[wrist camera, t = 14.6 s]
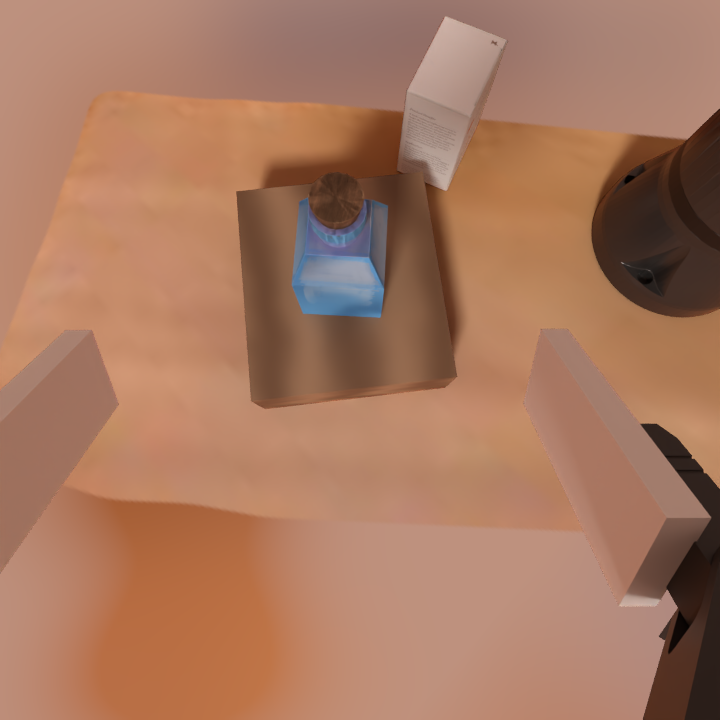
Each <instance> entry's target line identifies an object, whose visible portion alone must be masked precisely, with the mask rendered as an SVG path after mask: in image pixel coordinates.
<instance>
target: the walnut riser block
mask: <svg viewBox="0 0 720 720" xmlns="http://www.w3.org/2000/svg"><path fill="white" fill-rule="evenodd" d="M356 180H357V181H358V182H359V183H360V185H361V187H362V189H363V191H364V199H370V200H375V201H377V202H380V203H382V204H385V205H388V219H387V239H386V260H385V281H384V294H383V302H382V310H381V318H377V317H358V316H339V315H320V314H303V312H302V310H301V307H300V305H299V302H298V300H297V297H296V295H295V292H294V290H293V287H292V276H293V265H294V254H295V243H296V233H297V222H298V211H299V201H301V200H304V199H306V198H308V194H309V190H310V188H311V186H312V185H313V183H312V184H303V185H293V186H284V187H274V188H265V189H256V190H246V191H237V192H236V193H237V207H238V221H239V236H240V250H241V264H242V278H243V292H244V306H245V320H246V334H247V349H248V363H249V377H250V391H251V401H252V402H254V403H255V404H257V405H259V406H261V407H263V408H264V409H270V408H278V407H287V406H295V405H304V404H312V403H320V402H329V401H337V400H345V399H354V398H362V397H371V396H379V395H387V394H396V393H404V392H412V391H421V390H429V389H438V388H445V387H446V386H447V385H448V384H449V383H450V382H452V381H453V380H454V379H455V378H456V377H457V373H456V367H455V361H454V355H453V349H452V343H451V337H450V331H449V325H448V319H447V313H446V308H445V302H444V296H443V290H442V284H441V278H440V272H439V266H438V260H437V254H436V248H435V242H434V236H433V230H432V224H431V218H430V212H429V206H428V200H427V194H426V188H425V182H424V176H423V172H416V173H406V174H397V175H387V176H378V177H369V178H359V179H356Z"/></svg>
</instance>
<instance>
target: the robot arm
mask: <svg viewBox="0 0 720 720" xmlns="http://www.w3.org/2000/svg"><path fill="white" fill-rule="evenodd" d="M592 242H593V248H594V252H595V255H596V258H597V261H598V263H599V265H600V267H601V269H602V271H603V272H604V274H605V276H606V277H607V278H608V280H609V281H610V282H611V284H612V285H613V286H614V287H615V288H616V289H617V290H618V291H619V292H620V293H621V294H623V295H624V296H625V297H626V298H628V299H629V300H630V301H632V302H634V303H635V304H637V305H639V306H641V307H643V308H645V309H647V310H649V311H652V312H655V313H658V314H662V315H666V316H672V317H694V316H700V315H704V314H708V313H711V312H713V311H716V310H718V309H720V109H719V110H718V111H717V112H716V113H714V115H712V116H711V117H710V118H709V119H708V120H707V121H706V122H705V123H704V124H703V125H702V126H701V127H700V128H699V129H698V130H697V131H696V132H695V133H694V134H693V135H692V136H691V137H690V138H689V139H688V140H687V141H686V142H685V143H683V144H682V145H680V146H678V147H676V148H674V149H672V150H670V151H668V152H666V153H664V154H662V155H660V156H658V157H655V158H653V159H651V160H649V161H647V162H645V163H643V164H641V165H639V166H637V167H636V168H634V169H632V170H631V171H629V172H628V173H627V174H625V175H624V176H623V177H622V178H621V179H620V180H619V181H618V182H617V183H616V184H615V185H614V186H613V187H612V188H611V189H610V190H609V192H608V193H607V194H606V195H605V196H604V198H603V199H602V200H601V202H600V204H599V206H598V208H597V210H596V213H595V216H594V220H593V226H592ZM523 404H524V406H525V408H526V410H527V412H528V414H529V416H530V419H531V421H532V423H533V425H534V427H535V429H536V431H537V433H538V436H539V438H540V440H541V442H542V444H543V446H544V448H545V450H546V453H547V455H548V457H549V459H550V461H551V463H552V465H553V467H554V470H555V472H556V474H557V476H558V478H559V480H560V482H561V485H562V487H563V489H564V491H565V493H566V495H567V497H568V499H569V502H570V504H571V506H572V508H573V510H574V512H575V514H576V516H577V519H578V521H579V523H580V525H581V527H582V529H583V531H584V533H585V536H586V538H587V540H588V542H589V544H590V546H591V548H592V551H593V553H594V554H595V557H596V559H597V561H598V563H599V565H600V568H601V570H602V572H603V574H604V576H605V578H606V580H607V582H608V585H609V587H610V589H611V591H612V593H613V595H614V597H615V599H616V602H617V604H618V606H657V605H658V603H659V601H660V600H661V598H662V596H663V595H664V593H665V592H666V590H668V591H669V593H670V595H671V596H672V598H673V600H674V602H675V603H676V605H677V607H678V609H677V610H676V612H675V613H674V615H673V616H672V618H671V619H670V621H669V622H668V624H667V625H666V627H665V628H664V630H663V631H662V633H661V634H660V635H659V637H660V638H662V639H663V640H665V639H666V640H665V644H664V647H663V651H662V654H661V657H660V661H659V664H658V668H657V672H656V675H655V678H654V682H653V685H652V689H651V693H650V696H649V699H648V703H647V707H646V710H645V713H644V717H643V720H720V489H719V488H718V487H717V485H716V484H715V483H714V482H713V481H712V479H711V478H710V477H709V476H708V475H707V473H704V472H703V469H702V467H701V466H700V465H699V464H698V462H697V461H696V460H695V459H692V455H691V454H690V453H689V452H688V450H687V449H686V448H685V447H684V446H683V444H682V443H681V442H680V441H679V440H678V438H676V437H675V436H673V435H672V434H670V433H669V432H668V431H666V430H665V429H663V428H662V427H661V426H659V425H658V424H640V423H639V422H638V421H637V419H636V418H635V417H634V416H633V414H632V413H631V412H630V410H629V409H628V408H627V406H626V405H625V404H624V402H623V401H622V400H621V398H620V397H619V396H618V395H617V393H616V392H615V391H614V389H613V388H612V387H611V385H610V384H609V383H608V381H607V380H606V379H605V377H604V376H603V375H602V374H601V372H600V371H599V370H598V368H597V367H596V366H595V364H594V363H593V362H592V360H591V359H590V358H589V356H588V355H587V354H586V353H585V351H584V350H583V349H582V347H581V346H580V345H579V343H578V342H577V341H576V339H575V338H574V337H573V335H572V334H571V333H570V332H569V330H568V329H541V332H540V336H539V340H538V344H537V349H536V353H535V357H534V361H533V365H532V370H531V374H530V378H529V382H528V386H527V391H526V395H525V399H524V403H523ZM118 405H119V403H118V401H117V398H116V395H115V392H114V390H113V387H112V384H111V381H110V379H109V376H108V373H107V370H106V368H105V365H104V362H103V359H102V357H101V354H100V351H99V348H98V346H97V343H96V340H95V337H94V335H93V332H92V330H65V331H64V332H63V333H62V334H61V335H60V336H59V337H58V338H57V339H56V340H54V341H53V342H52V343H51V344H50V345H49V346H48V347H47V348H46V349H45V350H44V351H43V352H41V353H40V354H39V355H38V356H37V357H36V358H35V359H34V360H33V361H32V362H31V363H29V364H28V365H27V366H26V367H25V368H24V369H23V370H22V371H21V372H20V373H19V374H18V375H16V376H15V377H14V378H13V379H12V380H11V381H10V382H9V383H8V384H7V385H6V386H4V387H3V388H2V389H1V390H0V573H1V572H2V570H3V569H4V567H5V566H6V565H7V563H8V562H9V560H10V559H11V557H12V556H13V555H14V553H15V552H16V550H17V549H18V547H19V546H20V545H21V543H22V541H23V540H24V539H25V537H26V536H27V535H28V533H29V532H30V530H31V529H32V527H33V526H34V525H35V523H36V522H37V520H38V519H39V517H40V516H41V515H42V513H43V512H44V510H45V509H46V507H47V506H48V505H49V503H50V502H51V500H52V499H53V497H54V496H55V495H56V493H57V491H58V490H59V489H60V487H61V486H62V485H63V483H64V482H65V480H66V479H67V478H68V476H69V475H70V473H71V472H72V470H73V469H74V468H75V466H76V465H77V463H78V462H79V460H80V459H81V458H82V456H83V455H84V453H85V452H86V450H87V449H88V448H89V446H90V445H91V443H92V442H93V440H94V439H95V438H96V436H97V435H98V433H99V432H100V430H101V429H102V428H103V426H104V425H105V423H106V422H107V420H108V419H109V418H110V416H111V415H112V413H113V412H114V410H115V409H116V408H117V406H118Z"/></svg>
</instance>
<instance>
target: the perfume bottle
mask: <svg viewBox="0 0 720 720" xmlns="http://www.w3.org/2000/svg"><path fill="white" fill-rule="evenodd" d="M387 219H388V205H385V204H382V203H380V202H377V201H375V200H370V199H364V191H363V189H362V187H361V185H360V183H359V182H358V181H357V180H356V179H355V178H354V177H352V176H350V175H348V174H345V173H339V172H335V173H328V174H326V175H323V176H321V177H320V178H318V179H317V180H316V181H315V182H314V183H313V185H312V186H311V188H310V190H309V194H308V198H306V199H304V200H301V201H299V211H298V222H297V233H296V243H295V254H294V265H293V276H292V287H293V290H294V292H295V295H296V297H297V300H298V302H299V305H300V307H301V310H302V312H303V314H320V315H339V316H358V317H377V318H381V310H382V302H383V294H384V281H385V260H386V239H387Z"/></svg>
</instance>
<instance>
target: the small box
mask: <svg viewBox="0 0 720 720" xmlns="http://www.w3.org/2000/svg"><path fill="white" fill-rule="evenodd" d="M506 44H507V40H506V39H504V38H502V37H499V36H496V35H494V34H491V33H489V32H486V31H484V30H481V29H478V28H476V27H473V26H470V25H468V24H465V23H462V22H460V21H457V20H455V19H452V18H449V17H446V16H445V17H444V18H443V20H442V22H441V24H440V26H439V28H438V30H437V32H436V34H435V36H434V38H433V40H432V42H431V44H430V46H429V48H428V50H427V52H426V54H425V55H424V57H423V60H422V61H421V63H420V65H419V67H418V69H417V71H416V73H415V75H414V77H413V79H412V81H411V83H410V85H409V87H408V88H407V90H406V99H405V106H404V114H403V122H402V132H401V139H400V147H399V156H398V164H397V171H399V172H402V173H404V174H406V173H416V172H423V176H424V182H425V183H428V184H430V185H433V186H435V187H437V188H440V189H442V190H444V191H447V190H448V187H449V185H450V183H451V181H452V179H453V176H454V174H455V172H456V170H457V168H458V166H459V164H460V161H461V159H462V157H463V155H464V153H465V151H466V149H467V146H468V144H469V142H470V140H471V138H472V136H473V134H474V132H475V130H476V128H477V125H478V122H479V120H480V117H481V114H482V112H483V109H484V106H485V103H486V101H487V98H488V95H489V92H490V90H491V87H492V84H493V81H494V78H495V75H496V72H497V70H498V67H499V64H500V61H501V58H502V55H503V53H504V50H505V47H506Z"/></svg>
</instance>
